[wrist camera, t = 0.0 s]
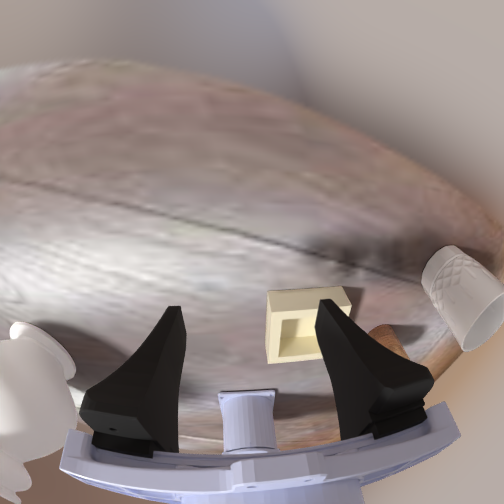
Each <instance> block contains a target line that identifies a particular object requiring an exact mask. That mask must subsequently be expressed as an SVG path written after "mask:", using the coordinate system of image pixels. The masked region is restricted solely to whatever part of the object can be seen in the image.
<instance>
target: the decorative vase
mask: <svg viewBox="0 0 504 504" xmlns="http://www.w3.org/2000/svg"><path fill="white" fill-rule="evenodd" d="M10 337H11V339H9V340H1V341H0V496H2V497H3V498H5V499H7V500H9V501H11V502H13V503H16V504H21V499H20V498H19V497H18V496H17V495H16V494H15V492H16V491H25V490H27V489H29V488H30V487H31V484H32V481H31V478H30V476H29V474H28V472H27V470H26V469H25V467H24V466H23V463H24V462H27V461H30V460H34V459H38V458H41V457H44V456H47V455H49V454H51V453H53V452H55V451H57V450H59V449H60V448H62V447H63V446H64V445H65V441H66V437H67V433H68V430H69V429H74V430H76V426H77V412H76V407H75V404H74V401H73V398H72V395H71V392H70V390H69V387H68V384H67V382H66V380H69V379H71V378H73V377H74V375H75V373H76V366H75V363H74V361H73V359H72V357H71V356H70V354H69V353H68V352H67V351H66V350H65V348H64V347H63V346H62V345H61V344H60V343H59V342H57V341H56V340H55V339H54V338H53V337H52V336H50V335H49V334H48V333H46V332H45V331H43V330H42V329H40V328H38V327H36V326H34V325H32V324H29V323H26V322H15V323H14V324H13V325H12V327H11V328H10Z"/></svg>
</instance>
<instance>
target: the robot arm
mask: <svg viewBox="0 0 504 504" xmlns="http://www.w3.org/2000/svg"><path fill="white" fill-rule="evenodd" d="M314 328H315V332H316V337H317V342H318V345H319V348H320V351H321V354H322V356H323V359H324V362H325V365H326V367H327V370H328V373H329V376H330V379H331V383H332V387H333V392H334V396H335V402H336V407H337V413H338V420H339V427H340V436H341V441H338V442H334V443H329V444H324V445H319V446H313V447H307V448H301V449H294V450H286V451H280V449H277V442H276V435H275V428H274V421H273V414H272V413H273V406H274V399H275V390H261V391H245V392H220V393H218V398H219V403H220V408H221V412H222V417H223V436H224V452H222V455H206V454H184V453H183V454H182V453H179V445H178V396H179V385H180V379H181V374H182V368H183V362H184V357H185V351H186V334H187V333H186V329H185V325H184V320H183V316H182V311H181V306H169V307H168V308H167V309H166V311H165V312H164V314H163V316H162V317H161V319H160V320H159V322H158V323H157V325H156V326H155V327H154V329H153V330H152V332H151V333H150V335H149V336H148V337H147V338H146V340H145V341H144V342H143V343H142V345H141V346H140V347H139V348H138V349H137V351H136V352H135V353H134V354H133V355H132V356H131V357H130V358H129V359H128V360H127V361H126V362H125V363H124V364H123V365H122V366H121V367H120V368H118V369H117V370H116V371H115V372H114V373H112V374H111V375H110V376H108V377H107V378H106V379H104V380H103V381H101V382H100V383H98V384H97V385H95V386H93V387H92V388H90V389H88V390H87V391H86V393H85V395H84V398H83V401H82V404H81V408H80V411H79V414H80V417H81V418H82V419H83V421H85V422H86V423H87V424H88V425H89V426H90V427H91V428H92V429H93V430H94V434H93V436H92V435H90V434H88V433H84V432H81V431H77V430H74V429H69V430H68V433H67V437H66V441H65V445H64V449H63V453H62V458H61V463H60V467H59V468H60V470H62V471H64V472H65V473H67V474H69V475H71V476H72V477H74V478H76V479H78V480H80V481H82V482H84V483H86V484H90V485H93V486H96V487H99V488H103V489H106V490H110V491H113V492H117V493H121V494H125V495H129V496H133V497H137V498H142V499H147V500H152V501H158V502H163V503H170V504H365V503H364V499H363V495H362V491H361V487H362V486H365V485H368V484H370V483H373V482H376V481H379V480H381V479H384V478H386V477H389V476H391V475H394V474H396V473H398V472H401V471H403V470H405V469H407V468H410V467H412V466H414V465H416V464H418V463H420V462H422V461H424V460H427V459H429V458H430V457H433V456H435V455H436V454H438V453H439V452H441V451H442V450H444V449H445V448H446V447H448V446H449V445H450V444H452V443H453V442H454V441H456V440H457V439H458V438H460V437H461V434H460V432H459V429H458V427H457V425H456V423H455V421H454V419H453V417H452V415H451V412H450V410H449V408H448V406H447V404H446V402H441V403H439V404H437V405H434V406H432V407H430V408H428V409H427V410H424V408H423V406H424V405H425V402H424V400H423V398H424V397H425V396H426V395H427V393H428V392H429V391H430V390H431V388H432V387H433V384H434V379H433V377H432V375H431V373H430V371H429V370H428V368H427V367H425V366H423V365H420V364H417V363H415V362H412V361H410V360H408V359H406V358H404V357H402V356H400V355H398V354H396V353H394V352H393V351H391V350H389V349H388V348H386V347H384V346H383V345H381V344H380V343H379V342H377V341H376V340H375V339H373V338H372V337H371V336H369V335H368V334H367V333H366V332H365V331H363V330H362V329H361V328H360V327H359V326H358V325H357V324H356V323H354V322H353V321H352V320H351V319H350V318H349V317H348V316H347V315H346V314H345V313H344V312H343V311H342V310H341V309H340V308H339V306H338V305H337V304H336V303H335V302H334V301H333V300H332V299H320V301H319V307H318V312H317V317H316V322H315V326H314Z"/></svg>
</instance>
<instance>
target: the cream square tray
mask: <svg viewBox="0 0 504 504" xmlns="http://www.w3.org/2000/svg"><path fill="white" fill-rule="evenodd" d="M320 299H332V300H333V301H334V302H335V303H336V304H337V305H338V306H339V308H340V309H341V310H342V311H343V312H344V313H345V314H346V315H347V316H348V317H349V313H350V310H351V306H352V305H351V303H350V301H349V299H348V297H347V295H346V293H345V292H344V290H343V288H342V286H336V287H323V288H309V289H294V290H277V291H267V313H266V334H265V346H266V353H267V360H268V364H272V363H284V362H294V361H303V360H312V359H320V358H323V356H322V354H321V351H320V348H319V345H318V342H317V337H316V332H315V328H314V326H315V322H316V317H317V312H318V307H319V301H320Z"/></svg>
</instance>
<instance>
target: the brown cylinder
mask: <svg viewBox="0 0 504 504" xmlns="http://www.w3.org/2000/svg"><path fill="white" fill-rule="evenodd" d="M368 335H369V336H371V337H372V338H373V339H375V340H376V341H377V342H379V343H380V344H381V345H383V346H384V347H386V348H388V349H389V350H391V351H393V352H394V353H396V354H398V355H400V356H402V357H404V358H406V359H408V360H410V359H409V357H408V355H407V354H406V352H405V350H404V348H403V346H402V345H401V343H400V341H399V339H398V338H397V336H396V334H395V332H394V331H393V329H392V327H391V326H390V325H386V324H385V325H380V326H378V327H376V328H374V329H372V330H371V331H370V332H369V333H368Z"/></svg>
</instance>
